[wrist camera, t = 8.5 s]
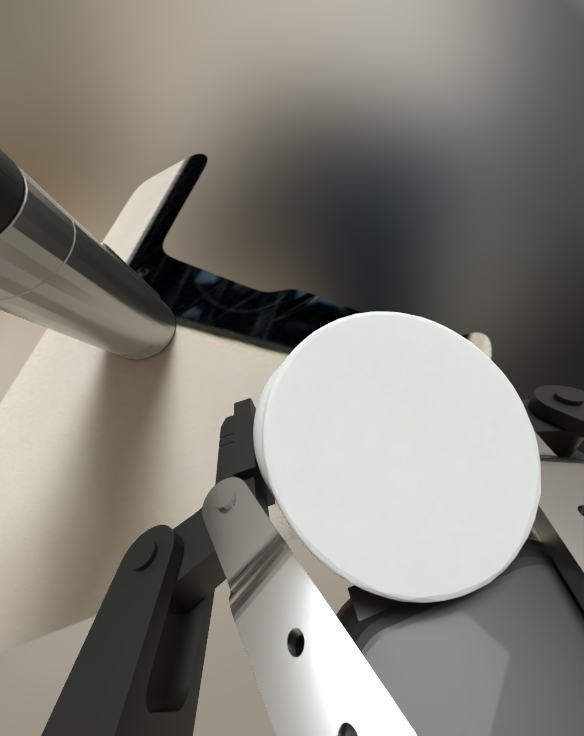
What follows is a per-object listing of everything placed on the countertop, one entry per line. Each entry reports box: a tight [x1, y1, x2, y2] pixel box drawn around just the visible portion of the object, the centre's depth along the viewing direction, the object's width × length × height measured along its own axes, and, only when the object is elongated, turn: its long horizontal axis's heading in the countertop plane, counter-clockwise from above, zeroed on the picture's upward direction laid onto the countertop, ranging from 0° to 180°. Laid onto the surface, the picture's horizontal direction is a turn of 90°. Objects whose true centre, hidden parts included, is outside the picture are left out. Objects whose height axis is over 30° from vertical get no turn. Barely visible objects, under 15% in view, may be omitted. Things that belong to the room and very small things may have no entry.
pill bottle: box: [253, 312, 541, 603], centre depth 9 cm, size 6×6×11 cm
